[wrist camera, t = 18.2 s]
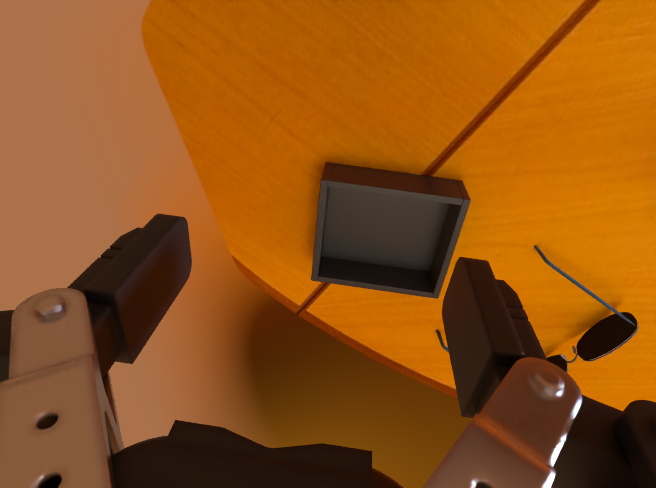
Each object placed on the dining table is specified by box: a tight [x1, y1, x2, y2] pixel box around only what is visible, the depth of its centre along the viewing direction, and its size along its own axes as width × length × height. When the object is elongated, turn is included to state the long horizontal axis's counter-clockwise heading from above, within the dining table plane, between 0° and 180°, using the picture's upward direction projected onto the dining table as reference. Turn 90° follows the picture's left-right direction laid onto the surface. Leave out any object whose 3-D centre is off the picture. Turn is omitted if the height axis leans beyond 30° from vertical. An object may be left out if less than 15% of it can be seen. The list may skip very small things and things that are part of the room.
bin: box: [311, 163, 471, 299], centre depth 43 cm, size 14×12×5 cm
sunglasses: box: [436, 246, 639, 373], centre depth 49 cm, size 17×15×5 cm
